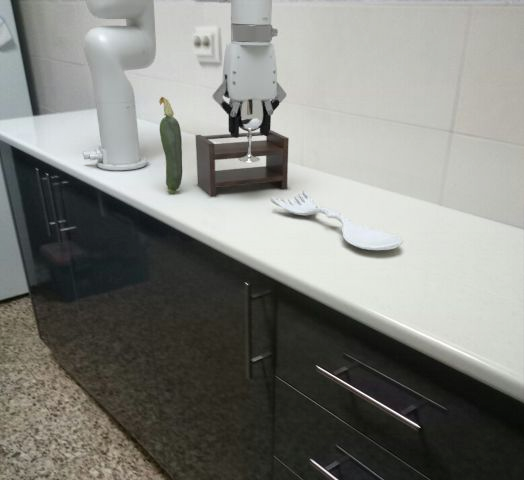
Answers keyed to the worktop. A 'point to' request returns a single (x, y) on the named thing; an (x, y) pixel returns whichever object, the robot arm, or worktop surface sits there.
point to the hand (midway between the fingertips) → (249, 134)
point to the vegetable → (171, 147)
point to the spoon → (343, 224)
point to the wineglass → (250, 122)
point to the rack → (209, 152)
